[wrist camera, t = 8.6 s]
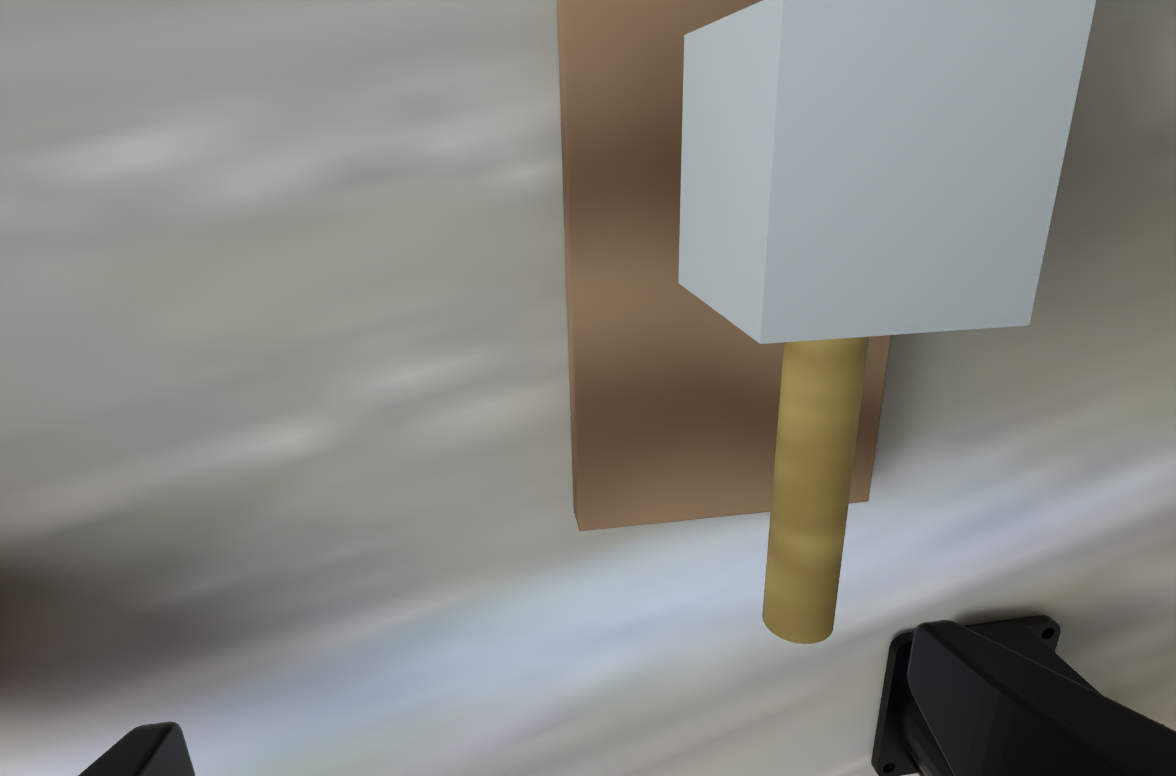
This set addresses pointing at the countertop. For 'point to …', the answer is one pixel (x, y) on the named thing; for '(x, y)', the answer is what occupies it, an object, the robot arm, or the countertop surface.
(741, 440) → the cord clamp board
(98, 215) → the countertop surface
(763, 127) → the white cube with hole
